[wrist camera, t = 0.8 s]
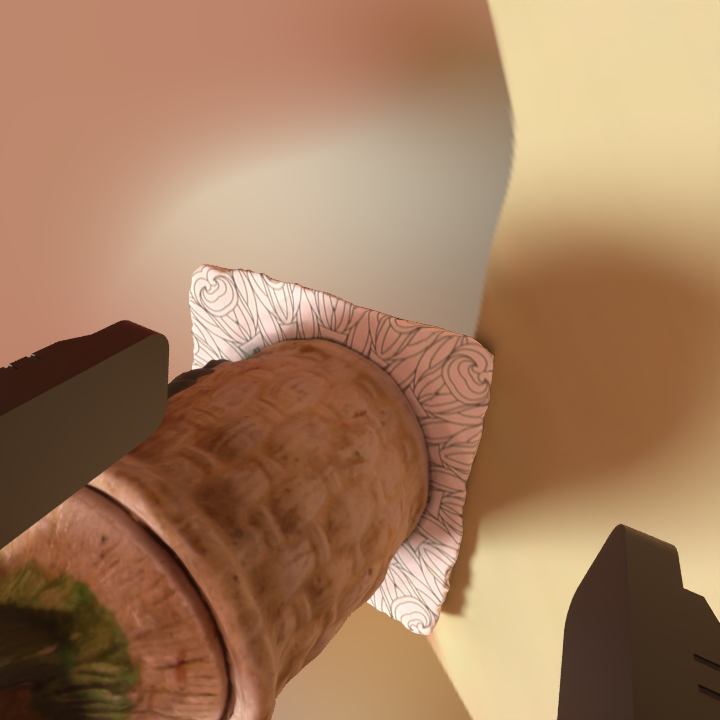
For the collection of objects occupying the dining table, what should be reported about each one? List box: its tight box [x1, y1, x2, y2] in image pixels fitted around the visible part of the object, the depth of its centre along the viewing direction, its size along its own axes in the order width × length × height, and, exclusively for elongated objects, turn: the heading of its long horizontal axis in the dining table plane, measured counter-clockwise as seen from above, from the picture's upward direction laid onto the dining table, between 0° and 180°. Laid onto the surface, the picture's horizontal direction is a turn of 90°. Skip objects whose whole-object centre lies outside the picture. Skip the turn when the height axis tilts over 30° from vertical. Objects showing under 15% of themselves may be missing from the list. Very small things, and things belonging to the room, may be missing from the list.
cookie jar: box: [0, 264, 494, 720], centre depth 31 cm, size 25×25×32 cm
